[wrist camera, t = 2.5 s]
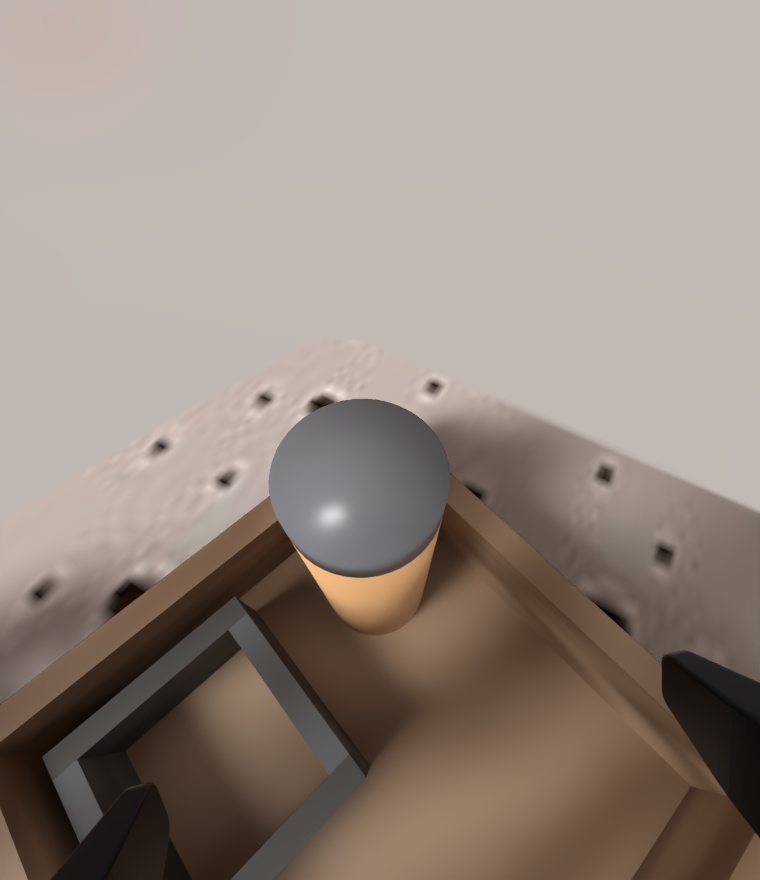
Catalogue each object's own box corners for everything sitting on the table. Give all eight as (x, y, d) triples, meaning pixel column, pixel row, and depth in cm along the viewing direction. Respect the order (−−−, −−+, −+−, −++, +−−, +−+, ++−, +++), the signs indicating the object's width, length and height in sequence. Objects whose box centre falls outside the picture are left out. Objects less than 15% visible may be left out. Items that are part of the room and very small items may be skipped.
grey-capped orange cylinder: (442, 588, 20) (487, 477, 10) (372, 657, 18) (348, 607, 9) (379, 521, 21) (366, 371, 12) (310, 582, 20) (233, 469, 10)
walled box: (722, 786, 17) (822, 810, 13) (334, 1419, 11) (300, 1816, 7) (382, 458, 24) (380, 409, 20) (36, 743, 18) (-65, 754, 14)
